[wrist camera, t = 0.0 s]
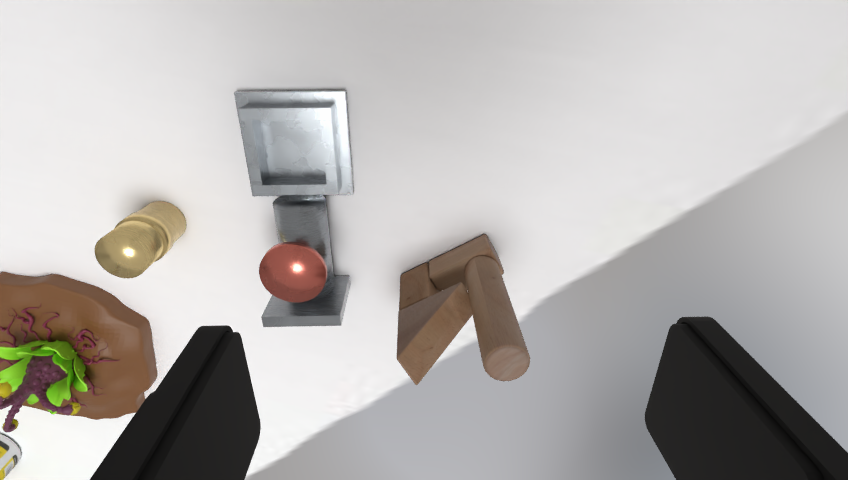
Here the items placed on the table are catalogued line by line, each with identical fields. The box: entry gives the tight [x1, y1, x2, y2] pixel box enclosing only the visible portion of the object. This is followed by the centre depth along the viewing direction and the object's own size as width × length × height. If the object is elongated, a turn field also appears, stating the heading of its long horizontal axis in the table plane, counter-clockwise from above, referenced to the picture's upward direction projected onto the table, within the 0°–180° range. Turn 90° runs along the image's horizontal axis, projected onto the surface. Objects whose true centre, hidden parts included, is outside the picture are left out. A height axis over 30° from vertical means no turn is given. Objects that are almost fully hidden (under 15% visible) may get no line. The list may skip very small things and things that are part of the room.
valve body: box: [234, 90, 354, 327], centre depth 43 cm, size 21×10×8 cm, turn 0°
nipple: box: [95, 201, 186, 278], centre depth 44 cm, size 5×5×8 cm
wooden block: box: [397, 234, 530, 385], centre depth 43 cm, size 4×11×18 cm, turn 118°
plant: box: [0, 272, 157, 432], centre depth 50 cm, size 20×20×11 cm
